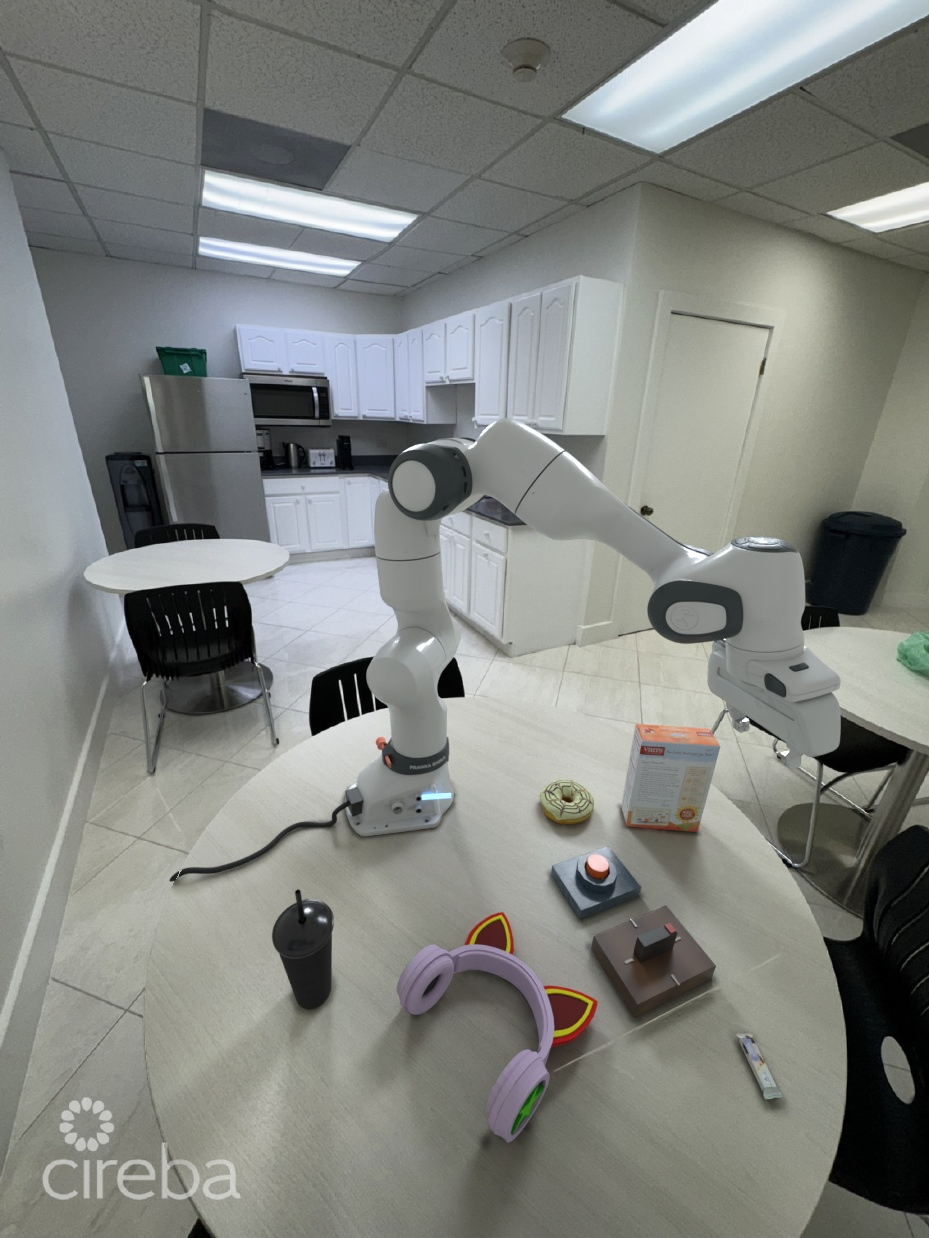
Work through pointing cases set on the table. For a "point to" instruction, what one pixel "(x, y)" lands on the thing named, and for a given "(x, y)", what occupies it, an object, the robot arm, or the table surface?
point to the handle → (655, 942)
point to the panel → (651, 962)
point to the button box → (594, 884)
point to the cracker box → (669, 777)
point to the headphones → (552, 1006)
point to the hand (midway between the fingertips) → (764, 746)
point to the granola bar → (758, 1066)
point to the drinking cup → (306, 949)
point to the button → (597, 866)
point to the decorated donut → (561, 810)
